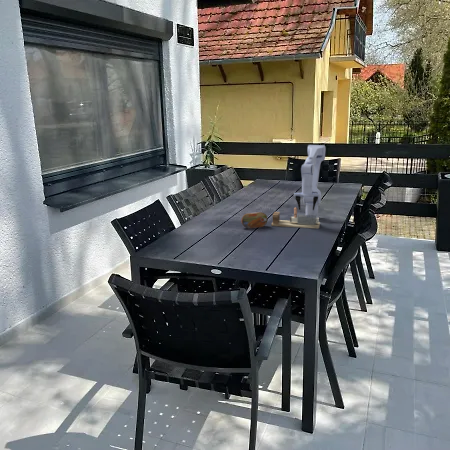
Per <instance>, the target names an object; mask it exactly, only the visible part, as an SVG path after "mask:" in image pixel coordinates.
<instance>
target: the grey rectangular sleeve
mask: <svg viewBox="0 0 450 450" xmlns="http://www.w3.org/2000/svg"><path fill="white" fill-rule="evenodd" d="M297 217H298V224H299V225H316V216H315V215H306V214H297Z"/></svg>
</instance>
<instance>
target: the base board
mask: <svg viewBox="0 0 450 450" xmlns="http://www.w3.org/2000/svg"><path fill="white" fill-rule="evenodd" d="M270 225H271V227H284V228H299V229H300V228H305V229H320V226H321V221H319V223H316V225H299V224H298V222H290V220H287V219H286V220H284V219H283V220H282V219H280V221H279V223H278V224H273V221H272V222H271V224H270Z"/></svg>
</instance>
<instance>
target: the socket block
mask: <svg viewBox="0 0 450 450" xmlns="http://www.w3.org/2000/svg"><path fill="white" fill-rule="evenodd" d="M280 215H281V212H280V211H274V212H273V214H272V222H273V224H278V223H279V221H280V220H281V219H280V217H281V216H280Z"/></svg>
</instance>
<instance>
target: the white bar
mask: <svg viewBox="0 0 450 450" xmlns="http://www.w3.org/2000/svg"><path fill="white" fill-rule="evenodd" d="M319 219H320V217H319V218H316V223H319V222H320V221H319ZM289 221H290V222H298V207H296V206H295V207H294V208H293V216H290V217H289Z"/></svg>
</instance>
